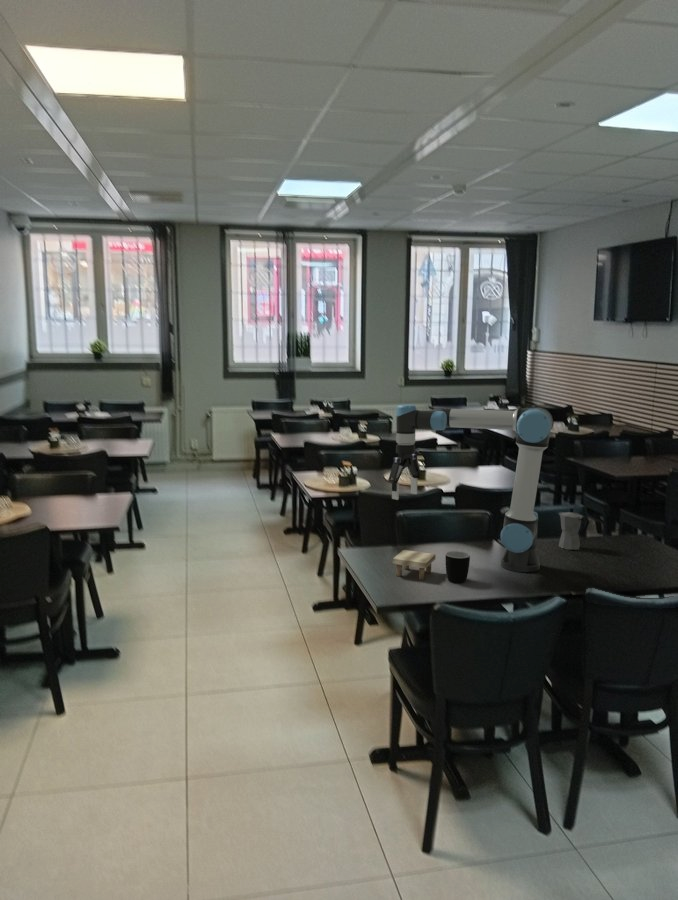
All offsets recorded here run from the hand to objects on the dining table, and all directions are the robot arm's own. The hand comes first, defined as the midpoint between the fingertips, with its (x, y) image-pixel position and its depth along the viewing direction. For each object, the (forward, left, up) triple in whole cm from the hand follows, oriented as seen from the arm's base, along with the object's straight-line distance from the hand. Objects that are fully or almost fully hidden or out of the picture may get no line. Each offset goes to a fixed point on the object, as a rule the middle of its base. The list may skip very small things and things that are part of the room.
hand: (404, 496), depth 282 cm
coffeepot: (-60, -52, -27) cm, 84 cm away
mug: (-25, +12, -27) cm, 39 cm away
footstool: (-9, +13, -27) cm, 31 cm away
